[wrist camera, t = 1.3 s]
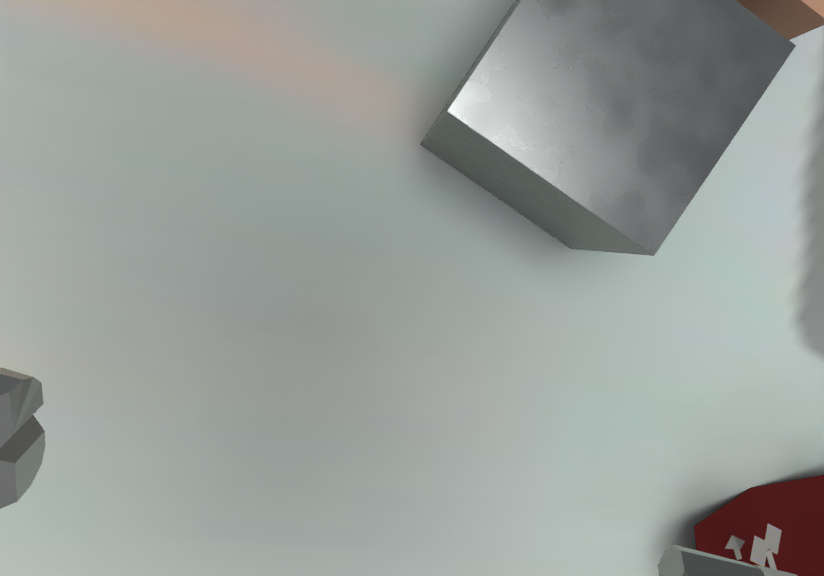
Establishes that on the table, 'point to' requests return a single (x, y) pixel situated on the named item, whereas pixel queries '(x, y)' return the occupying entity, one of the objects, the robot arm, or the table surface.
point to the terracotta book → (788, 15)
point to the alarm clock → (770, 527)
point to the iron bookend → (607, 112)
